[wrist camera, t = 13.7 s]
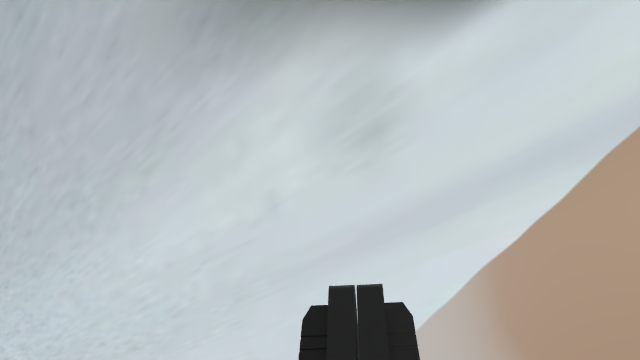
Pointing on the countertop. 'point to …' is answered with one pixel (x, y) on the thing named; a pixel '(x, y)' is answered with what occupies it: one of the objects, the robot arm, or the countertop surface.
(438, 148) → the countertop surface
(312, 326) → the robot arm
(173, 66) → the countertop surface
